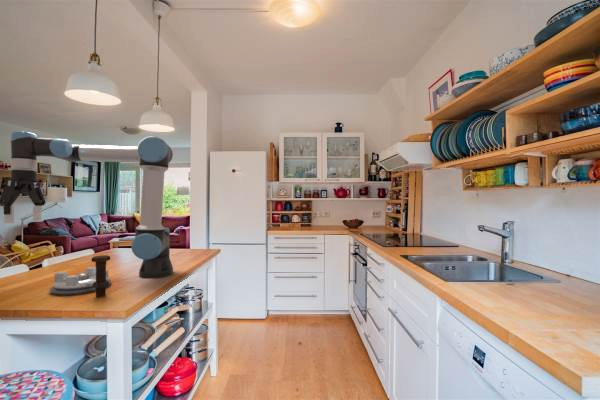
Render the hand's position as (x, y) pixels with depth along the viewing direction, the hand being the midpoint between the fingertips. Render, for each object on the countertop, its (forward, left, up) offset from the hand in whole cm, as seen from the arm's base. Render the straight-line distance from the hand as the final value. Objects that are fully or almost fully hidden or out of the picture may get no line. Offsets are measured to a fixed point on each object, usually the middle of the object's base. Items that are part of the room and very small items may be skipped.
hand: (23, 222), depth 117 cm
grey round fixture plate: (-23, +4, -26) cm, 34 cm away
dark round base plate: (-23, +4, -27) cm, 36 cm away
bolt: (-35, +17, -28) cm, 47 cm away
